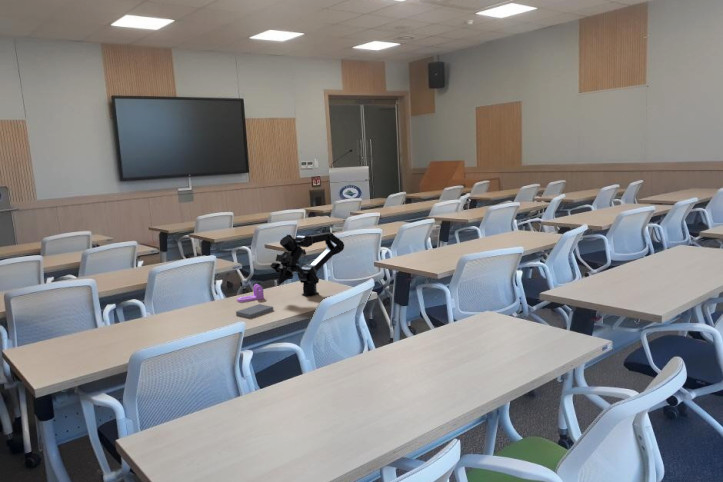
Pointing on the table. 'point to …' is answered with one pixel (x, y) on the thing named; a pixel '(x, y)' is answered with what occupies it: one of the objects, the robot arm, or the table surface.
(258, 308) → the tile
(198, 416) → the table surface
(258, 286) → the bracket
